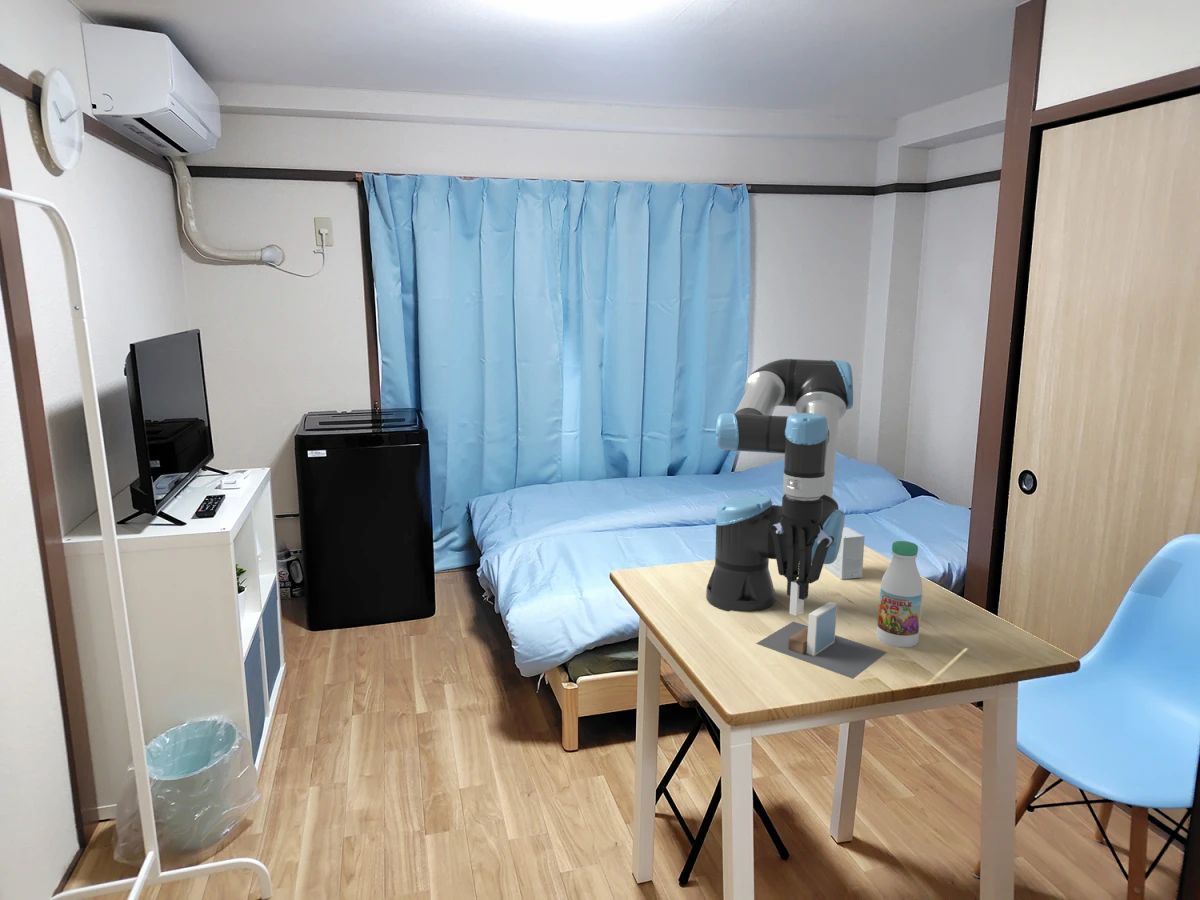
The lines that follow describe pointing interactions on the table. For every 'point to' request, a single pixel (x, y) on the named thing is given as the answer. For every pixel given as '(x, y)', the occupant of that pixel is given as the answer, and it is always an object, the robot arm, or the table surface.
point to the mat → (827, 652)
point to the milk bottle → (900, 598)
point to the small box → (849, 556)
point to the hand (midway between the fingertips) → (796, 612)
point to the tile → (821, 628)
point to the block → (799, 641)
